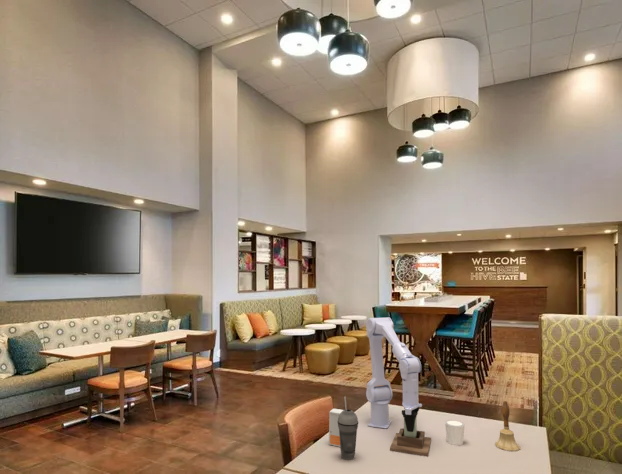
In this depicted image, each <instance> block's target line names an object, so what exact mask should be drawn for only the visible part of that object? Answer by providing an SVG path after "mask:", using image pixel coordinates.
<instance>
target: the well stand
mask: <svg viewBox="0 0 622 474" xmlns="http://www.w3.org/2000/svg"><path fill="white" fill-rule="evenodd" d="M399 429H400V430H399V432H396V433H395V435H394V438H393V440H392V442H391V444H390V447H389V451H390V452H395V453H401V454H402V453H403V454H410V455H414V456H415V455H416V456H423V457H428V456H429V453H430V449H431V443H432V437H429V436H425V435H426V434H425V431H423V430H417V435H416V438H414V437H407V436H404V428H399Z"/></svg>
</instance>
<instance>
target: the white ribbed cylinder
mask: <svg viewBox="0 0 622 474" xmlns="http://www.w3.org/2000/svg"><path fill="white" fill-rule="evenodd" d="M444 424H445V432H446V433H445V434H446V442H447V443H448V444H449V445H452V446H462V445H464V437H465V435H464V434H465V423H464V422H462V421H461V420H460V421H459V420H453V419H451V420H450V419H449V420H446V421H445V422H444Z"/></svg>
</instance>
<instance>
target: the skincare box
mask: <svg viewBox="0 0 622 474" xmlns="http://www.w3.org/2000/svg"><path fill="white" fill-rule="evenodd" d="M344 410H345V409H338V408H332V409H331V410H330V411H329V413H328V414H329V415H328V417H329V418H328V419H329V420H328V421H329V422H328V425H329V426H328V445H330V446H334V447H339V448H340V436H339V428H338V423H337V421H338V417H339V414H340V413H341V412H342V411H344Z"/></svg>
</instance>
